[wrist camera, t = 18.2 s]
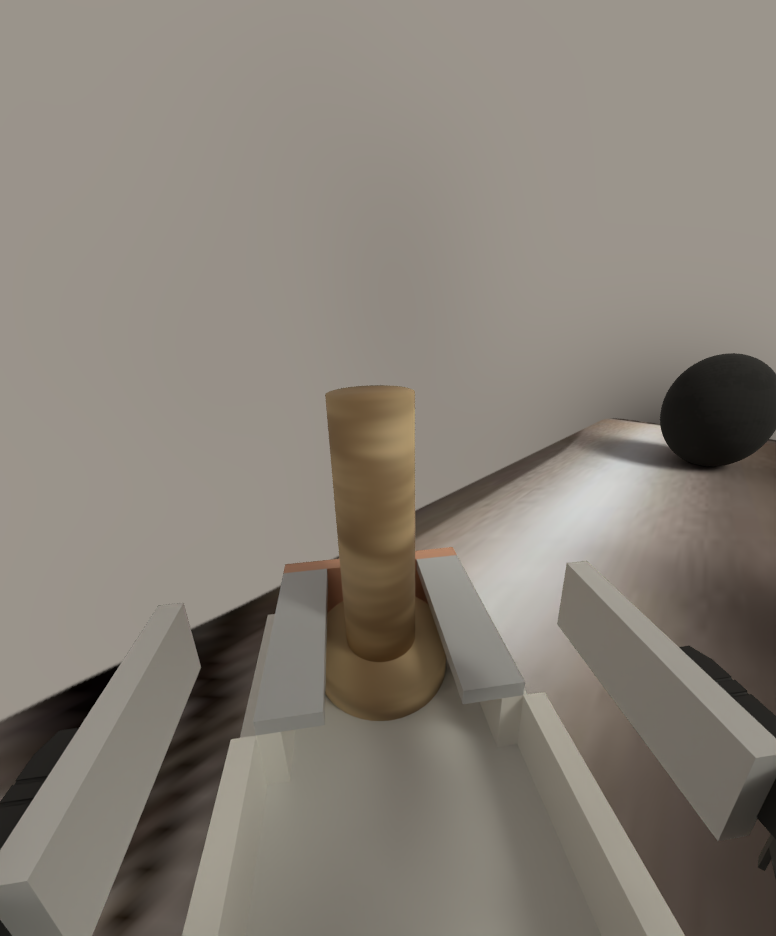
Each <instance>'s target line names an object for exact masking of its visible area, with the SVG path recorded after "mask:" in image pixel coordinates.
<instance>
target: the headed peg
mask: <svg viewBox="0 0 776 936" xmlns="http://www.w3.org/2000/svg"><path fill="white" fill-rule="evenodd" d="M325 396H326V407H327V419H328V431H329V442H330V454H331V464H332V477H333V488H334V500H335V511H336V523H337V533H338V546H339V557H340V569H341V580H342V592H343V601H342V602H341V603H339V604H338V605H336V606H335V607H334V608H333V609H331V610H330V611H329V612H328V614H327V644H326V686H325V694H326V696H327V697H328V698H329V699H330V701H331V702H332V703H333V704H334V705H335V706H337V707H338V708H339V709H341V710H342V711H344V712H345V713H347V714H349V715H352V716H354V717H357V718H360V719H364V720H370V721H389V720H395V719H399V718H403V717H405V716H408V715H410V714H412V713H414V712H416V711H418V710H420V709H421V708H422V707H424V706H425V705H426V704H427V703H429V702H430V701H431V700H432V699H433V697H434V696H435V695H436V694H437V692H438V690H439V689H440V687H441V685H442V682H443V680H444V676H445V670H446V654H445V651H444V648H443V645H442V642H441V639H440V636H439V633H438V630H437V627H436V625H435V622H434V619H433V616H432V613H431V610H430V607H429V605H428V604H427V603H426V602H424V601H423V600H421V599H419V598H417V597H415V391H414V390H412V389H409V388H405V387H398V386H383V385H380V386H378V385H377V386H356V387H348V388H341V389H337V390H333V391H330V392H328V393H326V395H325Z"/></svg>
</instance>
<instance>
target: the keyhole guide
mask: <svg viewBox="0 0 776 936" xmlns="http://www.w3.org/2000/svg"><path fill="white" fill-rule="evenodd" d="M415 597H417V598H419V599H421V600H423V601H424V602H426V603H427V604H428V605H429V607H430V610H431V613H432V616H433V619H434V622H435V625H436V627H437V630H438V633H439V636H440V639H441V642H442V645H443V648H444V651H445V654H446V670H445V676H444V680H443V682H442V685H441V687H440V689H439V690H438V692H437V694H436V695H435V696H434V697H433V699H432V700H431V701H430V702H429V703H427V704H426V705H425V706H424V707H422V708H421V709H420V710H418V711H416V712H414V713H412V714H410V715H408V716H405V717H403V718H399V719H395V720H389V721H370V720H364V719H360V718H357V717H354V716H352V715H349V714H347V713H345V712H344V711H342V710H341V709H339V708H338V707H337V706H335V705H334V704H333V703H332V702H331V701H330V699H329V698H328V697H327V696H326V694H325V686H326V644H327V614H328V612H329V611H330V610H331V609H333V608H334V607H335V606H336V605H338V604H339V603H341V602H342V601H343V592H342V580H341V569H340V559H333V560H323V561H313V562H304V563H295V564H286V565H285V569H284V573H283V578H282V583H281V588H280V593H279V598H278V602H277V607H276V612H275V614H271V615H268V617H267V621H266V626H265V630H264V634H263V639H262V643H261V647H260V652H259V656H258V660H257V665H256V669H255V673H254V678H253V682H252V687H251V691H250V695H249V700H248V704H247V708H246V713H245V717H244V721H243V726H242V730H241V735H240V738H236V739H231V741H230V745H229V749H228V753H227V757H226V761H225V765H224V769H223V773H222V777H221V781H220V785H219V789H218V793H217V797H216V801H215V805H214V809H213V813H212V817H211V821H210V825H209V829H208V833H207V837H206V841H205V845H204V849H203V853H202V857H201V861H200V865H199V869H198V873H197V877H196V881H195V885H194V889H193V893H192V897H191V901H190V905H189V909H188V913H187V917H186V921H185V925H184V929H183V933H182V936H685V935H684V933H683V931H682V930H681V928H680V926H679V924H678V923H677V921H676V919H675V917H674V916H673V914H672V912H671V910H670V909H669V907H668V905H667V904H666V902H665V900H664V898H663V897H662V895H661V893H660V891H659V890H658V888H657V886H656V884H655V883H654V881H653V879H652V878H651V876H650V874H649V872H648V871H647V869H646V867H645V865H644V864H643V862H642V860H641V858H640V857H639V855H638V853H637V852H636V850H635V848H634V846H633V845H632V843H631V841H630V839H629V838H628V836H627V834H626V832H625V831H624V829H623V827H622V825H621V824H620V822H619V820H618V819H617V817H616V815H615V813H614V812H613V810H612V808H611V806H610V805H609V803H608V801H607V799H606V798H605V796H604V794H603V793H602V791H601V789H600V787H599V786H598V784H597V782H596V780H595V779H594V777H593V775H592V773H591V772H590V770H589V768H588V766H587V765H586V763H585V761H584V760H583V758H582V756H581V754H580V753H579V751H578V749H577V747H576V746H575V744H574V742H573V740H572V739H571V737H570V735H569V734H568V732H567V730H566V728H565V727H564V725H563V723H562V721H561V720H560V718H559V716H558V714H557V713H556V711H555V709H554V708H553V706H552V704H551V702H550V701H549V699H548V697H547V695H546V694H545V692H541V693H534V694H527V692H526V690H525V688H524V687H525V681H524V679H523V677H522V675H521V673H520V672H519V670H518V668H517V666H516V664H515V662H514V660H513V659H512V657H511V655H510V653H509V651H508V649H507V647H506V646H505V644H504V642H503V640H502V638H501V636H500V634H499V633H498V631H497V629H496V627H495V625H494V623H493V621H492V620H491V618H490V616H489V614H488V612H487V610H486V608H485V606H484V605H483V603H482V601H481V599H480V597H479V595H478V593H477V592H476V590H475V588H474V586H473V584H472V582H471V580H470V579H469V577H468V575H467V573H466V571H465V569H464V567H463V566H462V564H461V562H460V560H459V558H458V556H457V554H456V553H455V551H454V549H453V547H449V548H440V549H430V550H420V551H415Z"/></svg>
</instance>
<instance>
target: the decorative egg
mask: <svg viewBox="0 0 776 936" xmlns="http://www.w3.org/2000/svg"><path fill="white" fill-rule="evenodd" d="M660 425H661V431H662V434H663V437H664V439H665V441H666V443H667V444H668V446H669V447H670V448H671V450H672V451H673V452H674V453H675V454H677V455H678V456H679V457H681V458H682V459H684V460H686V461H688V462H690V463H694V464H697V465H703V466H721V465H727V464H731V463H734V462H737V461H740V460H742V459H744V458H746V457H748V456H750V455H751V454H753V453H754V452H756V451H757V450H758V449H759V448H761V447H762V446H763V445H764V444H765V443H766V442H767V441H768V439H769V438H770V437H771V436H772V434H773V433H774V431H775V430H776V374H775V372H774V371H773V370H772V369H771V368H770V367H769V366H768V365H767V364H765V363H764V362H762V361H761V360H758V359H757V358H754V357H751V356H748V355H743V354H735V353H733V354H722V355H716V356H713V357H709V358H706V359H704V360H702V361H700V362H698V363H696V364H694V365H693V366H691V367H690V368H688V369H687V370H686V371H684V372H683V373H682V374H681V375H680V376H679V377H678V378H677V379H676V380H675V382H674V383H673V384H672V386H671V387H670V389H669V390H668V392H667V394H666V396H665V398H664V401H663V404H662V408H661V414H660Z"/></svg>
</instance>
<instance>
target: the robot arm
mask: <svg viewBox="0 0 776 936" xmlns="http://www.w3.org/2000/svg"><path fill="white" fill-rule="evenodd" d="M557 624H558V626H559V627H560V628H561V630H562V631H563V632H564V634H565V635H566V636H567V638H568V639H569V640H570V642H571V643H572V645H573V646H574V647H575V649H576V650H577V651H578V653H579V654H580V655H581V657H582V658H583V659H584V661H585V662H586V663H587V665H588V666H589V668H590V669H591V670H592V672H593V673H594V674H595V676H596V677H597V678H598V680H599V681H600V682H601V684H602V685H603V686H604V688H605V689H606V691H607V692H608V693H609V695H610V696H611V697H612V699H613V700H614V701H615V703H616V704H617V705H618V707H619V708H620V709H621V711H622V712H623V714H624V715H625V716H626V718H627V719H628V720H629V722H630V723H631V724H632V726H633V727H634V728H635V730H636V731H637V733H638V734H639V735H640V737H641V738H642V739H643V741H644V742H645V743H646V745H647V746H648V747H649V749H650V750H651V751H652V753H653V754H654V756H655V757H656V758H657V760H658V761H659V762H660V764H661V765H662V766H663V768H664V769H665V770H666V772H667V773H668V774H669V776H670V777H671V779H672V780H673V781H674V783H675V784H676V785H677V787H678V788H679V789H680V791H681V792H682V793H683V795H684V796H685V797H686V799H687V800H688V802H689V803H690V804H691V806H692V807H693V808H694V810H695V811H696V812H697V814H698V815H699V816H700V818H701V819H702V821H703V822H704V823H705V825H706V826H707V827H708V829H709V830H710V831H711V833H712V834H713V835H714V837H715V838H716V839H717V841H722V840H727V839H733V838H738V837H743V836H748V835H749V834H750V832H751V830H752V828H753V826H754V824H755V822H756V820H757V818H758V819H759V820H760V822H761V823H762V824H763V825H764V826H765V827H766V829H767V830H768V831H769V832H770V833H771V835H770V837H769V839H768V840H767V842H766V844H765V846H764V848H763V850H762V852H761V854H760V855H759V858H758V868H760V869H762V870H764V871H765V870H766V868H767V866H768V864H769V862H770V861H771V860H772V864H773V869H774V874H775V878H776V716H775V715H774V714H773V713H772V712H771V711H769V710H768V709H767V708H766V707H765V706H764V705H763V704H762V703H760V702H759V701H758V700H757V699H756V698H755V697H754V696H753V695H749V694H748V693H747V690H746V689H745V688H744V687H742V686H741V685H740V684H739V683H738V682H737V681H736V680H732V678H731V676H730V675H729V674H728V673H727V672H726V671H724V670H723V669H722V668H721V667H720V666H719V665H718V664H717V663H715V662H714V661H713V660H712V659H710V658H709V657H707V656H705V655H704V654H702V653H700V652H699V651H697V650H695V649H694V648H692V647H690V646H684V647H678V646H677V645H676V644H675V643H674V642H673V641H672V640H671V639H669V638H668V637H667V636H666V635H665V634H664V633H663V632H662V631H661V630H660V629H659V628H658V627H657V626H656V625H655V624H653V623H652V622H651V621H650V620H649V619H648V618H647V617H646V616H645V615H644V614H643V613H642V612H641V611H640V610H639V609H638V608H636V607H635V606H634V605H633V604H632V603H631V602H630V601H629V600H628V599H627V598H626V597H625V596H624V595H623V594H622V593H620V592H619V591H618V590H617V589H616V588H615V587H614V586H613V585H612V584H611V583H610V582H609V581H608V580H607V579H606V578H605V577H603V576H602V575H601V574H600V573H599V572H598V571H597V570H596V569H595V568H594V567H593V566H592V565H591V564H590V563H589V562H587V561H581V562H572V563H567V565H566V571H565V578H564V584H563V591H562V597H561V604H560V610H559V617H558V623H557ZM200 668H201V665H200V662H199V658H198V654H197V651H196V647H195V643H194V640H193V636H192V632H191V629H190V625H189V621H188V618H187V614H186V610H185V607H184V603H177V604H168V605H159V606H158V607H157V609H156V610H155V612H154V613H153V615H152V616H151V618H150V620H149V621H148V623H147V624H146V626H145V627H144V629H143V630H142V632H141V633H140V635H139V636H138V638H137V640H136V641H135V643H134V644H133V646H132V647H131V649H130V650H129V652H128V653H127V655H126V657H125V658H124V660H123V661H122V663H121V664H120V666H119V667H118V669H117V670H116V672H115V674H114V675H113V677H112V678H111V680H110V681H109V683H108V684H107V686H106V687H105V689H104V691H103V692H102V694H101V695H100V697H99V698H98V700H97V701H96V703H95V704H94V706H93V708H92V709H91V711H90V712H89V714H88V715H87V717H86V718H85V720H84V721H83V723H82V724H81V726H80V728H74V729H66V730H59V731H58V732H57V733H56V734H55V735H54V736H53V737H52V738H51V739H50V740H49V741H48V742H47V743H46V744H44V745H43V746H42V747H41V748H40V749H39V750H38V751H37V752H36V753H35V754H34V755H33V757H32V758H31V760H30V761H29V762H28V764H27V765H26V767H25V768H24V769H23V771H22V772H21V774H20V775H19V776H18V778H17V779H16V783H15V785H12V786H11V788H10V789H9V790H8V792H7V793H6V795H5V796H4V797H3V799H2V800H1V802H0V936H92V935H93V932H94V930H95V928H96V925H97V923H98V920H99V918H100V915H101V913H102V910H103V908H104V905H105V903H106V900H107V898H108V895H109V893H110V890H111V888H112V886H113V883H114V881H115V878H116V876H117V873H118V871H119V868H120V866H121V863H122V861H123V858H124V856H125V853H126V851H127V849H128V846H129V844H130V841H131V839H132V836H133V834H134V831H135V829H136V826H137V824H138V821H139V819H140V816H141V814H142V811H143V809H144V807H145V804H146V802H147V799H148V797H149V794H150V792H151V789H152V787H153V784H154V782H155V779H156V777H157V774H158V772H159V769H160V767H161V765H162V762H163V760H164V757H165V755H166V752H167V750H168V747H169V745H170V742H171V740H172V737H173V735H174V732H175V730H176V727H177V725H178V723H179V720H180V718H181V715H182V713H183V710H184V708H185V705H186V703H187V700H188V698H189V695H190V693H191V690H192V688H193V686H194V683H195V681H196V678H197V676H198V673H199V671H200Z"/></svg>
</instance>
